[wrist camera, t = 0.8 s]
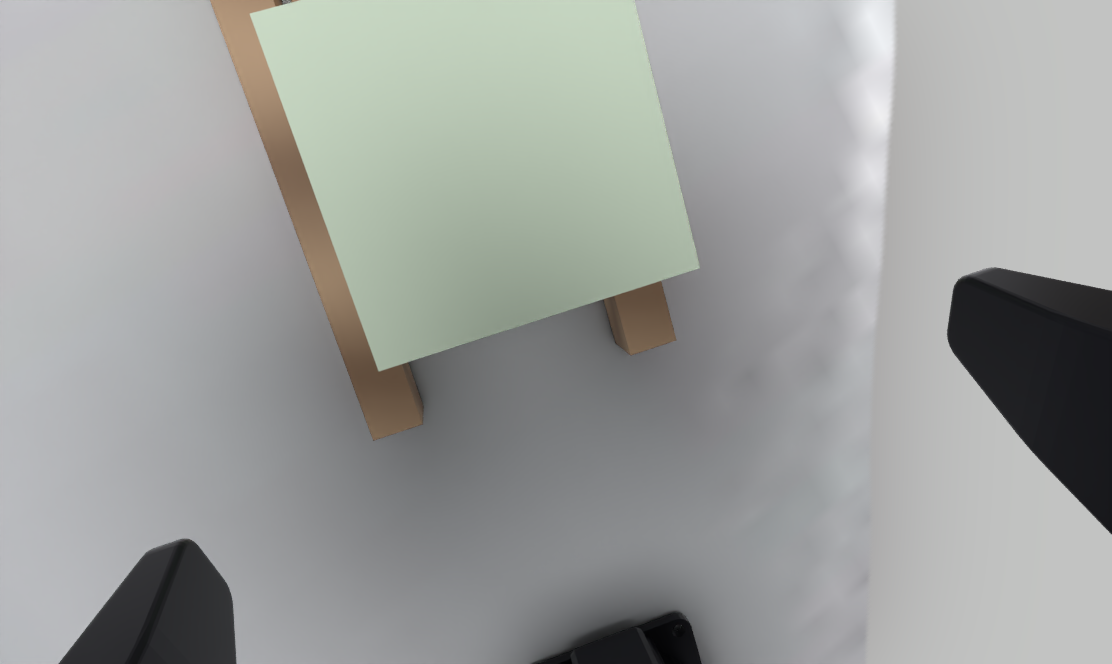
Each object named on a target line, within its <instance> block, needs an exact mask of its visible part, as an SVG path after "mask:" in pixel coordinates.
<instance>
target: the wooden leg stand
mask: <svg viewBox="0 0 1112 664" xmlns="http://www.w3.org/2000/svg"><path fill="white" fill-rule="evenodd" d="M210 1H211V4H212V7H213V9H214V12H215V15H216V17H217V20H218V23H219V26H220V28H221V31H222V34H223V36H224V39H225V42H226V44H227V47H228V50H229V52H230V55H231V58H232V61H233V63H234V66H235V69H236V71H237V74H238V77H239V79H240V82H241V85H242V88H243V90H244V93H245V96H246V98H247V101H248V104H249V106H250V109H251V112H252V115H253V117H254V120H255V123H256V125H257V128H258V131H259V133H260V136H261V139H262V141H263V144H264V147H265V150H266V152H267V155H268V158H269V160H270V163H271V166H272V168H273V171H274V174H275V177H276V179H277V182H278V185H279V187H280V190H281V193H282V195H283V198H284V201H285V204H286V206H287V209H288V212H289V214H290V217H291V220H292V222H293V225H294V228H295V230H296V233H297V236H298V239H299V241H300V244H301V247H302V249H303V252H304V255H305V257H306V260H307V263H308V266H309V268H310V271H311V274H312V276H313V279H314V282H315V284H316V287H317V290H318V293H319V295H320V298H321V301H322V303H323V306H324V309H325V311H326V314H327V317H328V319H329V322H330V325H331V328H332V330H333V333H334V336H335V338H336V341H337V344H338V346H339V349H340V352H341V355H342V357H343V360H344V363H345V365H346V368H347V371H348V373H349V376H350V379H351V382H352V384H353V387H354V390H355V392H356V395H357V398H358V400H359V403H360V406H361V408H362V411H363V414H364V417H365V419H366V422H367V425H368V427H369V430H370V433H371V435H372V438H373V441H374V440H377V439H380V438H383V437H386V436H389V435H392V434H395V433H398V432H401V431H404V430H407V429H410V428H413V427H416V426H419V425H422V424H423V408H424V406H423V403H422V401H421V398H420V395H419V392H418V389H417V386H416V383H415V381H414V378H413V375H412V372H411V369H410V366H409V363H408V362H407V363H404V364H401V365H398V366H395V367H391V368H388V369H385V370H382V371H378V368H377V366H376V363H375V360H374V357H373V354H372V352H371V349H370V346H369V343H368V341H367V338H366V335H365V332H364V330H363V327H362V324H361V321H360V318H359V316H358V313H357V310H356V307H355V305H354V302H353V299H352V296H351V294H350V291H349V288H348V285H347V282H346V280H345V277H344V274H343V271H342V269H341V266H340V263H339V260H338V257H337V255H336V252H335V249H334V246H333V244H332V241H331V238H330V235H329V233H328V230H327V227H326V224H325V221H324V219H323V216H322V213H321V210H320V208H319V205H318V202H317V199H316V197H315V194H314V191H313V188H312V185H311V183H310V180H309V177H308V174H307V172H306V169H305V166H304V163H303V161H302V158H301V155H300V152H299V149H298V147H297V144H296V141H295V138H294V136H293V133H292V130H291V127H290V125H289V122H288V119H287V116H286V113H285V111H284V108H283V105H282V102H281V100H280V97H279V94H278V91H277V89H276V86H275V83H274V80H273V77H272V75H271V72H270V69H269V66H268V64H267V61H266V58H265V55H264V52H263V50H262V47H261V44H260V41H259V39H258V36H257V33H256V30H255V28H254V25H253V22H252V19H251V16H250V13H254V12H258V11H261V10H265V9H269V8H273V7H276V6H280V5H283V3H282V1H281V0H210ZM603 300H604V303H605V307H606V310H607V314H608V318H609V321H610V325H611V328H612V332H613V335H614V339H615V343H616V344H617V345H618V346H620V347H621V348H622V349H623V350H624V351H626V352H627V353H628V354H629V355H634V354H637V353H640V352H643V351H646V350H649V349H652V348H655V347H658V346H661V345H664V344H667V343H670V342H673V341H676V337H675V333H674V329H673V325H672V321H671V318H670V314H669V310H668V306H667V302H666V298H665V295H664V291H663V287H662V283H661V281H659V282H656V283H652V284H649V285H646V286H643V287H640V288H637V289H634V290H631V291H628V292H625V293H621V294H618V295H615V296H612V297H609V298H606V299H603Z"/></svg>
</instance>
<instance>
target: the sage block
mask: <svg viewBox="0 0 1112 664" xmlns="http://www.w3.org/2000/svg"><path fill="white" fill-rule="evenodd" d="M250 16H251V19H252V22H253V25H254V28H255V30H256V33H257V36H258V39H259V41H260V44H261V47H262V50H263V52H264V55H265V58H266V61H267V64H268V66H269V69H270V72H271V75H272V77H273V80H274V83H275V86H276V89H277V91H278V94H279V97H280V100H281V102H282V105H283V108H284V111H285V113H286V116H287V119H288V122H289V125H290V127H291V130H292V133H293V136H294V138H295V141H296V144H297V147H298V149H299V152H300V155H301V158H302V161H303V163H304V166H305V169H306V172H307V174H308V177H309V180H310V183H311V185H312V188H313V191H314V194H315V197H316V199H317V202H318V205H319V208H320V210H321V213H322V216H323V219H324V221H325V224H326V227H327V230H328V233H329V235H330V238H331V241H332V244H333V246H334V249H335V252H336V255H337V257H338V260H339V263H340V266H341V269H342V271H343V274H344V277H345V280H346V282H347V285H348V288H349V291H350V294H351V296H352V299H353V302H354V305H355V307H356V310H357V313H358V316H359V318H360V321H361V324H362V327H363V330H364V332H365V335H366V338H367V341H368V343H369V346H370V349H371V352H372V354H373V357H374V360H375V363H376V366H377V368H378V371H382V370H385V369H388V368H391V367H395V366H398V365H401V364H404V363H407V362H410V361H413V360H416V359H419V358H422V357H426V356H429V355H432V354H435V353H438V352H441V351H444V350H447V349H450V348H454V347H457V346H460V345H463V344H466V343H469V342H472V341H475V340H478V339H482V338H485V337H488V336H491V335H494V334H497V333H500V332H503V331H506V330H510V329H513V328H516V327H519V326H522V325H525V324H528V323H531V322H534V321H537V320H541V319H544V318H547V317H550V316H553V315H556V314H559V313H562V312H565V311H569V310H572V309H575V308H578V307H581V306H584V305H587V304H590V303H593V302H597V301H600V300H603V299H606V298H609V297H612V296H615V295H618V294H621V293H625V292H628V291H631V290H634V289H637V288H640V287H643V286H646V285H649V284H652V283H656V282H659V281H662V280H665V279H668V278H671V277H674V276H677V275H680V274H684V273H687V272H690V271H693V270H696V269H699V268H700V265H699V261H698V257H697V253H696V249H695V245H694V241H693V237H692V233H691V228H690V224H689V220H688V216H687V212H686V208H685V204H684V200H683V196H682V192H681V188H680V184H679V180H678V176H677V172H676V168H675V164H674V160H673V156H672V152H671V147H670V143H669V139H668V135H667V131H666V127H665V123H664V119H663V115H662V111H661V107H660V103H659V99H658V95H657V91H656V87H655V83H654V79H653V75H652V70H651V66H650V62H649V58H648V54H647V50H646V46H645V42H644V38H643V34H642V30H641V26H640V22H639V18H638V14H637V10H636V6H635V2H634V0H299V1H295V2H291V3H288V4H284V5H280V6H276V7H273V8H269V9H265V10H261V11H258V12H254V13H250Z"/></svg>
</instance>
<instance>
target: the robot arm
mask: <svg viewBox="0 0 1112 664" xmlns="http://www.w3.org/2000/svg"><path fill="white" fill-rule="evenodd" d="M947 337H948V342H949V345H950V347H951V349H952V351H953V353H954V354H955V356H956V357H957V358H958V359H959V361H960V362H961V363H962V365H963V366H964V367H965V368H966V370H967V371H968V372H969V373H970V375H971V376H972V377H973V379H974V380H975V381H976V382H977V384H978V385H979V386H980V387H981V389H982V390H983V391H984V392H985V394H986V395H987V396H988V398H989V399H990V400H991V401H992V402H993V404H994V405H995V406H996V408H997V409H998V410H999V411H1000V413H1001V414H1002V415H1003V417H1004V418H1005V419H1006V420H1007V421H1008V423H1009V424H1010V425H1011V426H1012V428H1013V429H1014V430H1015V432H1016V433H1017V434H1018V435H1019V437H1020V438H1021V439H1022V440H1023V441H1024V442H1025V444H1026V445H1027V446H1028V447H1029V448H1030V450H1031V451H1032V452H1033V453H1034V454H1035V455H1036V456H1037V457H1038V459H1039V460H1040V461H1041V462H1042V463H1043V464H1044V465H1045V466H1046V467H1047V468H1048V469H1049V470H1050V471H1051V472H1052V473H1053V474H1054V475H1055V477H1056V478H1058V480H1059V481H1060V482H1061V483H1062V484H1063V485H1064V486H1065V487H1066V488H1067V489H1068V490H1069V491H1070V492H1071V493H1072V494H1073V495H1074V496H1075V497H1076V498H1077V499H1078V500H1079V501H1080V502H1081V503H1082V504H1083V505H1084V506H1085V507H1086V508H1087V510H1088V511H1089V512H1090V513H1091V514H1092V515H1093V516H1094V517H1095V518H1096V519H1097V520H1098V521H1099V522H1100V523H1101V524H1102V525H1103V526H1104V527H1105V528H1106V529H1107V530H1108V531H1109V532H1110V533H1111V534H1112V291H1110V290H1105V289H1100V288H1095V287H1091V286H1086V285H1081V284H1076V283H1071V282H1066V281H1061V280H1056V279H1051V278H1045V277H1041V276H1036V275H1031V274H1026V273H1021V272H1016V271H1011V270H1006V269H1001V268H986V269H983V270H980V271H977V272H974V273H971V274H969V275H966V276H963V277H961V278H960V279H958V281H957V282H956V284H955V285H954V289H953V294H952V302H951V309H950V316H949V323H948V329H947ZM676 625H682V626H681V628H680V629H679V630H677V631H673V628H674V627H675V626H676ZM59 664H236V648H235V631H234V614H233V601H232V596H231V593H230V590H229V587H228V585H227V583H226V582H225V580H224V579H223V577H222V576H221V575H220V573H219V572H218V571H217V570H216V568H215V567H214V566H213V564H212V563H211V562H210V560H209V559H208V558H207V556H206V555H205V554H204V553H203V551H202V550H201V549H200V547H199V546H198V545H197V544H196V543H195V542H194V541H192V540H190V539H180V540H177V541H174V542H171V543H168V544H165V545H162V546H159V547H156V548H153V549H151V550H149V551H148V552H147V553H145V555H144V556H143V557H142V558H141V559H140V560H139V562H138V563H137V564H136V565H135V567H134V568H133V569H132V571H131V572H130V573H129V574H128V576H127V577H126V578H125V579H124V581H123V582H122V583H121V585H120V586H119V587H118V588H117V590H116V591H115V592H114V594H113V595H112V596H111V597H110V599H109V600H108V601H107V602H106V604H105V605H104V606H103V608H102V609H101V610H100V611H99V613H98V614H97V615H96V617H95V618H94V619H93V620H92V622H91V623H90V624H89V625H88V627H87V628H86V629H85V631H84V632H83V633H82V634H81V636H80V637H79V638H78V640H77V641H76V642H75V643H74V645H73V646H72V647H71V648H70V650H69V651H68V652H67V654H66V655H65V656H64V657H63V659H62V660H61V661H60V663H59ZM538 664H702V663H701V659H700V656H699V652H698V649H697V645H696V642H695V638H694V635H693V631H692V627H691V625H690V623H689V621H688V620H687V618H686V616H684V615H683V614H681V613H673V614H670V615H667V616H665V617H662V618H659V619H657V620H654V621H651V622H649V623H646V624H643V625H640V626H638V627H632V628H629V629H627V630H624V631H621V632H619V633H616V634H613V635H611V636H608V637H605V638H603V639H600V640H597V641H595V642H592V643H589V644H586V645H584V646H581V647H578V648H576V649H575V650H573V651H571V652H568V653H565V654H562V655H560V656H557V657H554V658H552V659H549V660H546V661H544V662H541V663H538Z"/></svg>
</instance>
